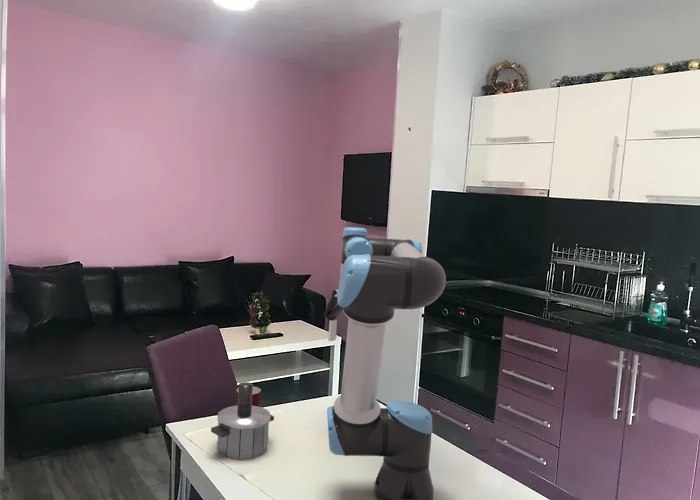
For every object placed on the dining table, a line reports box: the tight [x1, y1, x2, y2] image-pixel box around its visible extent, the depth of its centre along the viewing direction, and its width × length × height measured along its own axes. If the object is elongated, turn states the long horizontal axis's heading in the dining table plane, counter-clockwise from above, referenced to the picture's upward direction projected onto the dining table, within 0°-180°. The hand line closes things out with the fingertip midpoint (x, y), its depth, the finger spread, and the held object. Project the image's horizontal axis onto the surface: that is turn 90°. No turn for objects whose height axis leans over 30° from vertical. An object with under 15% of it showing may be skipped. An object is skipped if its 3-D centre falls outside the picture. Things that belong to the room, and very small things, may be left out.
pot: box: [210, 414, 275, 461], centre depth 166 cm, size 14×19×9 cm
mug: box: [235, 386, 262, 407], centre depth 186 cm, size 10×8×10 cm
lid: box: [217, 381, 271, 430], centre depth 165 cm, size 15×15×12 cm
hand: (347, 345), depth 178 cm, fingers open, 13 cm apart
